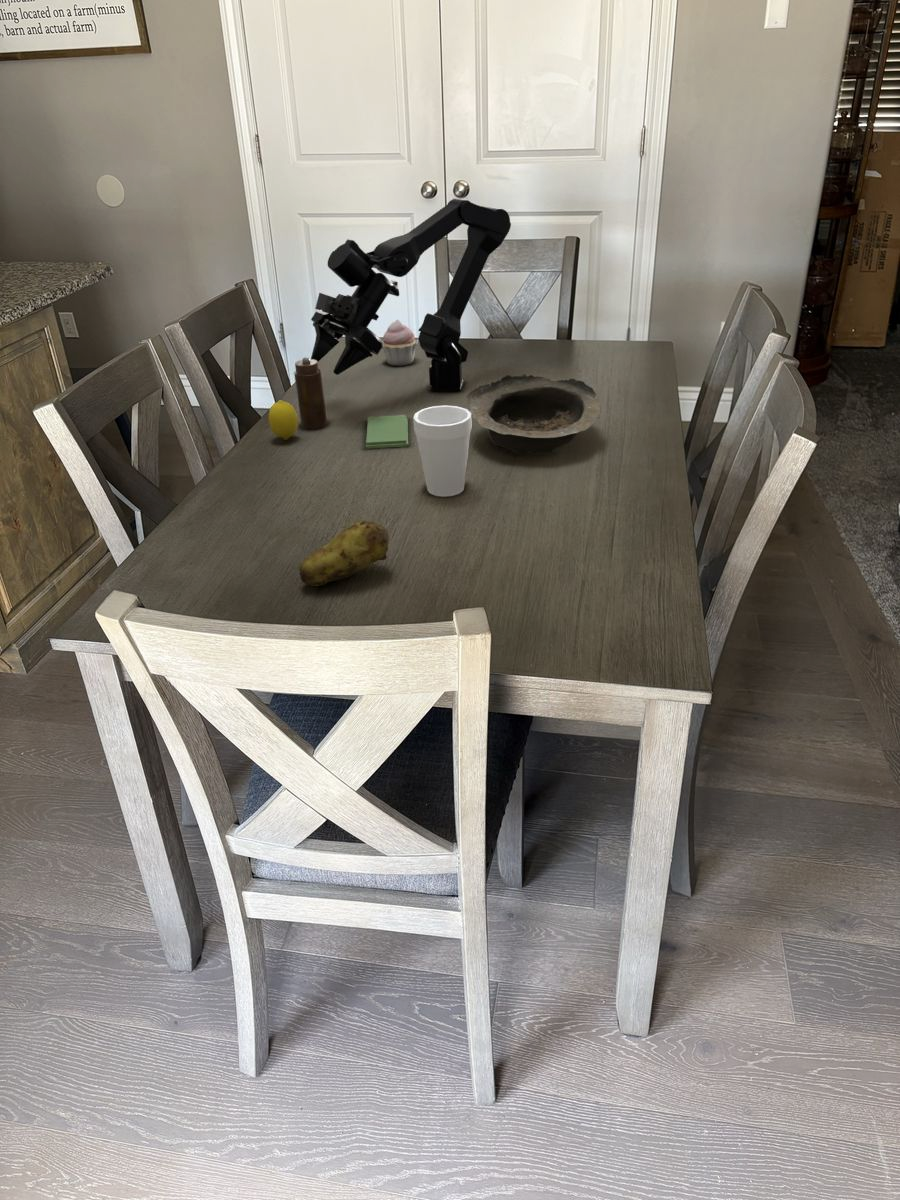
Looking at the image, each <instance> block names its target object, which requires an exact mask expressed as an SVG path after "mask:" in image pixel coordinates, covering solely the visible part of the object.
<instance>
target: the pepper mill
mask: <svg viewBox="0 0 900 1200" xmlns="http://www.w3.org/2000/svg"><path fill="white" fill-rule="evenodd" d="M294 367H295V371H294V373H293V375H294V383H295V390H296V395H297V396H296V397H297V403H298V411H299V419H300V426H301V428H302V429H304V430H309V431H310V430H313V431H314V430H320V429H323V428H325V427H327V426H328V419H327V418H328V417H327V411H326V402H325V393H324V385H323V378H322V377H323V376H322V370H321V369H320V368H319V361H317V360H314V359H311V358H309V357H307V356H305V357H303V358H302V359H300V360H297V361H296V362H295V363H294Z"/></svg>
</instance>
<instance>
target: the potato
mask: <svg viewBox="0 0 900 1200" xmlns="http://www.w3.org/2000/svg"><path fill="white" fill-rule="evenodd" d="M389 543H390V534H389V532H388V530H387V529H386V527H385V526H384V525H382V524H380V523H377V522H375V521H373V520H372V521H371V520H365V519H364V520H358V521H355V522H354V523H352V524H351V525H349V526H347V527H345V528H344V529H343V530H341V531H340V532H339V533H337V534H336V535H335V536H334V537H333V538H332V539H331V540H330V541H328V542H327V543H326V544H325V545H323V546H322V547H320V548H318V549H316V550H314V551H313V552H312V553H310V554H309V555H308V556H307V557H305V558H304V560H302V562H301V563H300V564H299V567H298V571H299V576H300V580H301V582H302V583H304V584H306V585H307V586H312V587H313V586H314V587H319V586H323V585H326V584H327V583H329V582H336V581H339V580H345V579H347V578H349V577H352V576H353V575H356V574H357V573H359V572H361V571H362V570H364V569H365V568H367V567H368V566H371V565H372V564H374V563H376V562H378V561H385V560H386V559H387V558H388V556H387V553H388V550H389Z"/></svg>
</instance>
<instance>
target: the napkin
mask: <svg viewBox="0 0 900 1200" xmlns="http://www.w3.org/2000/svg"><path fill="white" fill-rule="evenodd" d="M408 421H409V420H408V417H407V415H406V414H397V415H396V414H395V415H382V416H381V415H380V416H368V417H367V428H366V439H365V449H367V450H368V449H369V450H371V449H386V448H387V449H388V448H402V447H409V427H408V426H409V424H408Z"/></svg>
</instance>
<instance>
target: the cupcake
mask: <svg viewBox="0 0 900 1200" xmlns="http://www.w3.org/2000/svg"><path fill="white" fill-rule="evenodd" d="M382 339H383V340H382V349H381V350H382V351H383V353H384V356H385V360H386V362H387V364H388V365H390V366H395V367H396V366H397V367H399V366H400V367H401V366H407V365H411V364H412V363H413V362H414V360H415V352H416V349H417V345H418V344H419V341H418V339H416V337H415V333H414V332H413V330H412V328H411V327H410V326H408V325H405V324H403V322H402V321H400V320H399V319H396V320H395V321H392V323H390V324H389V325H388V327H387V329H386V331H385V332H384V334H383V337H382Z"/></svg>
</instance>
